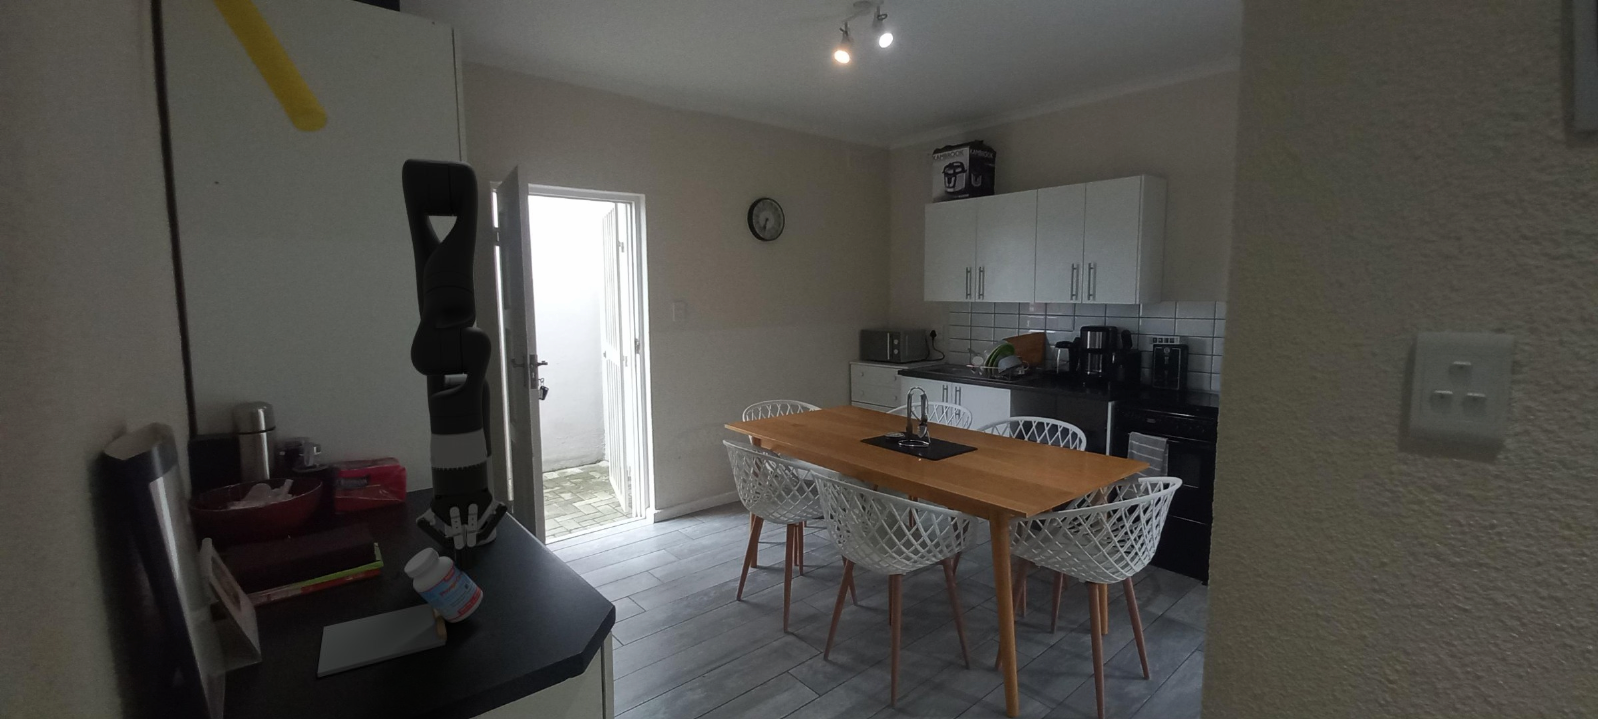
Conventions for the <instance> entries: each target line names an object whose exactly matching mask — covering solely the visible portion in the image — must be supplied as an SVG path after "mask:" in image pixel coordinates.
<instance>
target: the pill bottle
mask: <svg viewBox="0 0 1598 719" xmlns="http://www.w3.org/2000/svg"><path fill="white" fill-rule="evenodd" d="M404 573H406V575H407V576H408V577H409V578H411V579H413V582H412V585H413V586H412V587H413V589H414V590H415V591H416V592H417V593H418V594H419V595H420V596H421V597H422V598H423V599H424V600H425V601H426V602H427V604H428V603H429V604H430V605H431V606H432V607H433V608H434V609H435V610H437V611H438V612H439V613H440V614H441V615H442V616H443V618H444V620H445V621H447V622H448V623H451V624H452V623H457V622H458V623H459V622H461V621H463V620H465V619H467V618H468V617H469V616H470V615H471V614H472V613H474V612H475V611H476V609H477V608H478V607H479V605H480V604H481V602H482V600H483V597H484V594H483V591H482V589H481V588H480V587H479V586H478V585H477V584H476V582H474V581H473V580H472V579H471V578H470V577H469V576H468V574H466V573H465V571H463V572H462V570H461V568H460V569H458V568H457V566H456V563H455V561H453V560H452V559H451V558H450V557H448V556H439V554H438V552H437V551H436V550H435V549H434V548H432V547H427V548H425V549H423V550H421V551H419V552H418V553H416V554H415V555H414V556H413V557H411V559H410V560H409V561H408V562H407V563H406V565H405V566H404Z"/></svg>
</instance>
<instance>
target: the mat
mask: <svg viewBox="0 0 1598 719" xmlns="http://www.w3.org/2000/svg"><path fill="white" fill-rule="evenodd" d="M320 646H321V647H320V652H319V661H318V667H317V678H322V677H324V676H329V675H333V674H338V673H342V672H345V671H348V670H352V669H356V668H361V667H365V666H368V665H371V664H372V665H373V664H377V663H381V662H384V661H388V660H391V659H395V658H399V657H403V656H408V655H411V654H415V653H419V652H423V651H427V650H430V649H435V648H438V647H443V646H446V641H445V638H442V639H439V636H438V630H437V625H436V620H435V614H434V609H433V607H432V606H431V605H430V604H429V603H428V602H427V603H424V604H419V605H415V606H410V607H407V608H403V609H398V610H394V611H393V610H392V611H389V612H384V613H380V614H376V615H371V616H367V617H362V618H358V619H353V620H349V621H345V622H339V623H336V624H331V625H327V626H323V633H322V638H321V645H320Z"/></svg>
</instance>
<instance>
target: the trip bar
mask: <svg viewBox="0 0 1598 719" xmlns="http://www.w3.org/2000/svg"><path fill="white" fill-rule="evenodd" d="M433 609H434V608H433ZM434 614H435V620H436V625H437V630H438V636H439V639H442V638H445V642H448V635H447V628H446V625H445V624H446V623H445V618H444V617H443V616H442V615H441V614H440V613H439V612H438V611H437V610H435V609H434Z"/></svg>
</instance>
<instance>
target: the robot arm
mask: <svg viewBox="0 0 1598 719" xmlns="http://www.w3.org/2000/svg"><path fill="white" fill-rule="evenodd" d="M401 169H402V170H401V183H402V192H403V198H404V199H403V200H404V204H405V210H406V215H407V221H408V226H409V232H410V237H411V242H412V249H413V250H412V251H413V258H414V269H415V278H416V279H415V280H416V282H415V283H416V294H417V303H418V313H419V320H420V321H419V324H418V327H417V329H416V331H415V334H414V337H413V340H412V343H411V348H410V360H411V363H412V365H413V368H414V369H415V370H416V371H417V372H418V373H420V374H421V375H423V376H426V393H427V406H428V413H429V423H430V424H429V425H430V442H429V443H430V444H429V454H430V458H429V459H430V460H429V461H430V465H431V466H430V468H431V484H432V499H431V502H430V504H429V509H427V510H426V511H425V512H424V513H423V514H420V515H417V516H416V518H415V522H416V526H417V527H418V529H420V530H422V531H423V533H425V534H426V535H427V536H429V537H430V538H431V539H432V540H433V541H435V542H436V543H437V544H438V545H440V547H442V548H443V549H447V548H451V549H454V550H453V551H454V563H455V564H456V566H457V568H458V569H461V570H462V572H467V571H468V572H469V571H472V570H473V566H476V564H477V560H478V558H477V547H479V546H482V545H485V544H488V543H490V542H493V541H494V540H495V538H497V525H498V524H499V523H500V521H501V520H502V518H504V517H505V514H506V512H507V511H508V506H507V504H506V503H505V502H504V501H502V500H501V501H498V500H496V499H495V486H494V470H493V451H492V439H491V438H492V436H491V390H490V383H489V382H488V380H487V378H486V373H487V371H488V367H489V362H490V359H491V355H492V342H491V339H490V337H489V335H488V334H487V332H485V331H484V329H482V328H480V327H477V326H476V327H475V323H476V321H477V309H476V308H477V307H476V306H477V305H476V293H475V278H474V276H475V275H474V265H475V264H474V263H475V262H474V260H475V253H476V252H475V251H476V244H477V243H476V242H477V234H478V233H477V232H478V231H477V230H478V229H477V228H478V218H479V213H478V212H479V187H478V179H477V174H476V171H475V170H474V167H473V166H472V164H470V163H468V162H465V161H462V160H461V161H459V160H448V159H434V158H433V159H431V158H408V159H407V160H405V161H404V163H403V164H402V168H401ZM430 217H451V218H452V217H453V218H454V217H455V222H454V224H453V226H452V228H451V229H450V231H449V232H448V234H447V235H446V236H445V237H444V239H443V240H442V241H441V240H440V238H439V237H438V235H437V233H436V230H435V229H434V227H433V224H432V221H431V219H430ZM463 374H464V375H466V376H457V375H463ZM453 375H454V377H450V376H453ZM447 376H449V377H447ZM435 516H436V517H437V518H438V519H439V520H440V521H441V522H443V523H444V531H443V530H442V529H440V528H439V527H437V525H436V518H435Z"/></svg>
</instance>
